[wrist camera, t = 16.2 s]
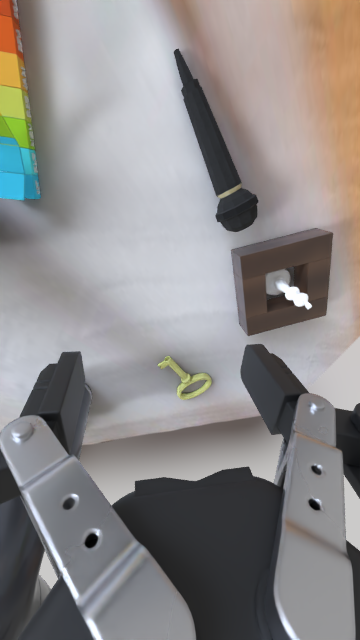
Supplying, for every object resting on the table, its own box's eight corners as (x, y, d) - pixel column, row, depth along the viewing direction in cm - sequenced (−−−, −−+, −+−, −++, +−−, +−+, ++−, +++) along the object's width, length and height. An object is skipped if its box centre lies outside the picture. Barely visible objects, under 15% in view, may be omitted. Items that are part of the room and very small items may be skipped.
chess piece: (268, 299, 44) (300, 329, 36) (255, 278, 42) (286, 304, 33) (293, 282, 43) (332, 308, 35) (281, 259, 41) (320, 281, 32)
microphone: (161, 76, 31) (225, 233, 38) (146, 58, 26) (224, 242, 33) (202, 43, 29) (262, 216, 36) (195, 17, 24) (266, 223, 31)
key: (165, 349, 46) (166, 357, 44) (215, 377, 51) (218, 385, 49) (142, 376, 48) (142, 384, 46) (191, 400, 53) (194, 408, 51)
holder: (311, 305, 46) (326, 315, 43) (239, 324, 46) (247, 336, 42) (315, 227, 39) (333, 232, 36) (230, 249, 39) (240, 256, 36)
